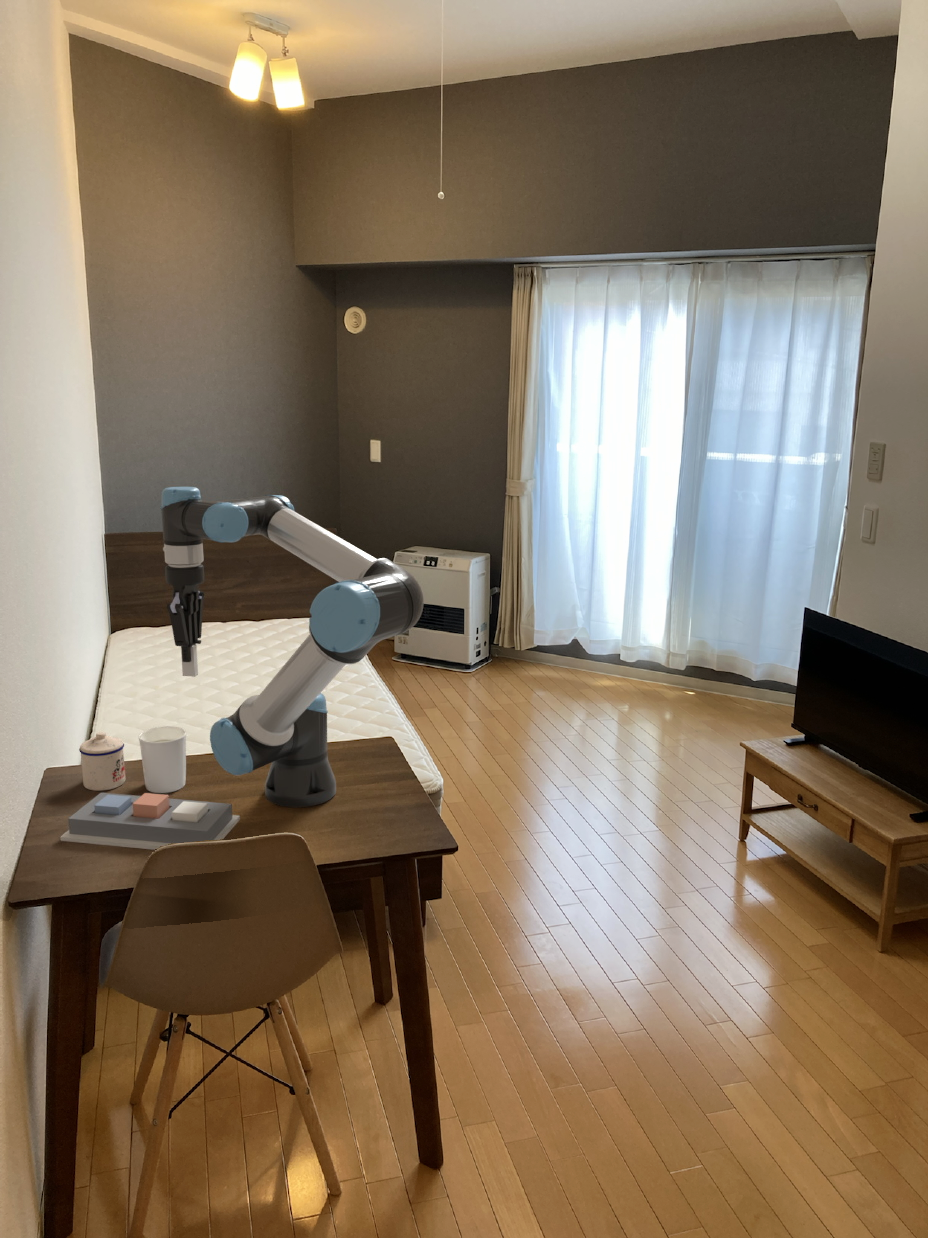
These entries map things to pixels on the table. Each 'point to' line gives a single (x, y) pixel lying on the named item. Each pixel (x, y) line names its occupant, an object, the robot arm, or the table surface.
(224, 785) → the table surface
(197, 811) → the white key
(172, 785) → the candle holder
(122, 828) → the key console
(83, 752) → the teacup with lid
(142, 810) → the terracotta key
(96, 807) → the blue key
